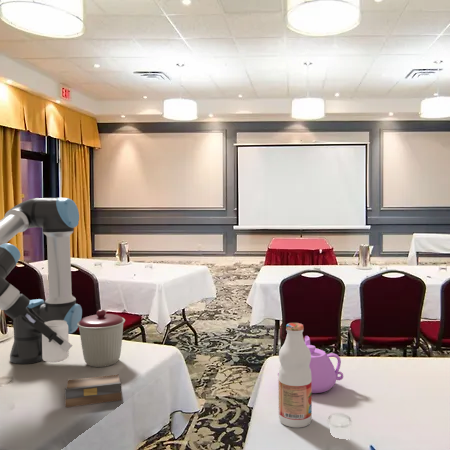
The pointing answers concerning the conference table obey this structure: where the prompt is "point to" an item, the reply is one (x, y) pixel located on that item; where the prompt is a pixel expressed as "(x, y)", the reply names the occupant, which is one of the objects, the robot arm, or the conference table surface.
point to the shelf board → (93, 390)
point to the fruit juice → (295, 379)
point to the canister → (101, 338)
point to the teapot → (322, 369)
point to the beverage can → (51, 349)
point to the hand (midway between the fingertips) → (67, 345)
